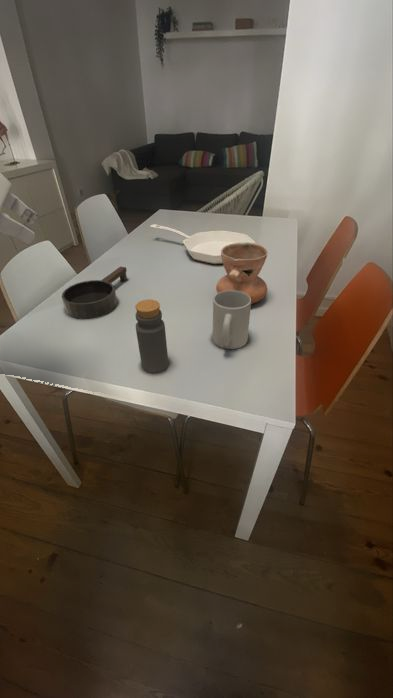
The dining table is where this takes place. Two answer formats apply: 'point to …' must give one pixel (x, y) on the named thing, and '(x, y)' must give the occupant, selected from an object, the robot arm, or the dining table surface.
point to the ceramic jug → (243, 270)
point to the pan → (209, 243)
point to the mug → (231, 319)
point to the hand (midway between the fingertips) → (34, 228)
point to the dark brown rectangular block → (116, 275)
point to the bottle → (151, 336)
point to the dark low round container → (89, 299)
